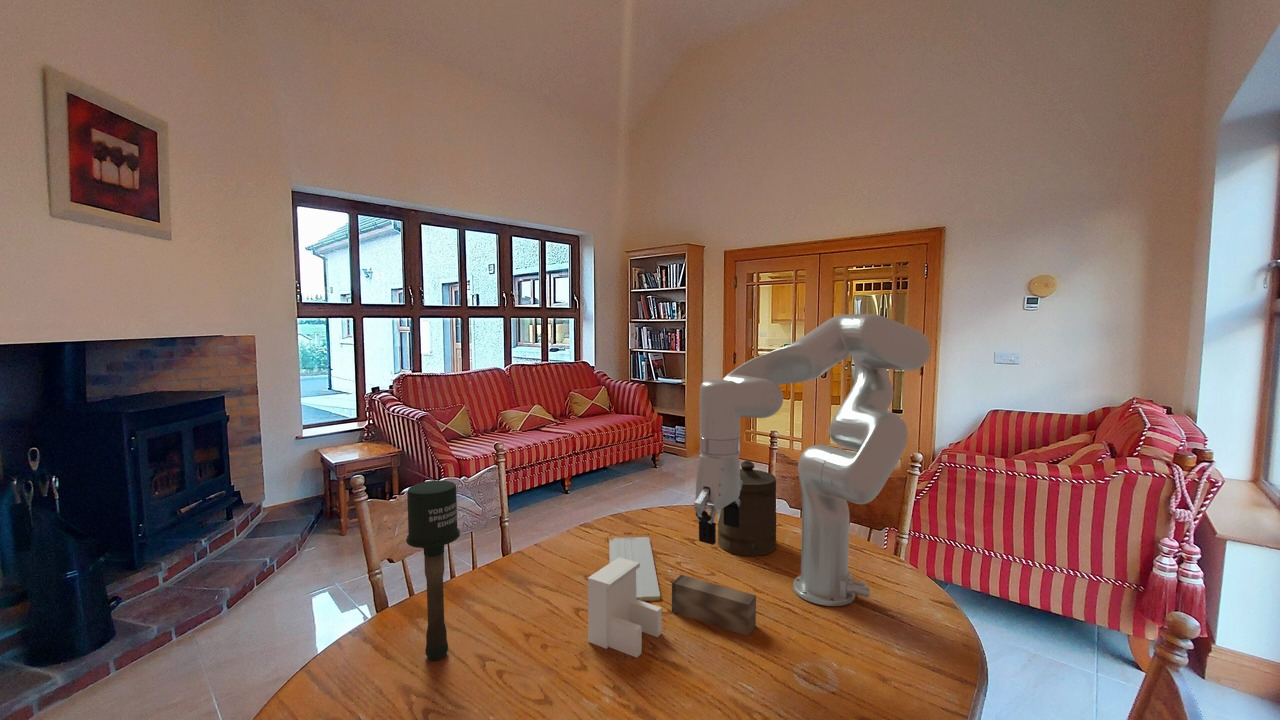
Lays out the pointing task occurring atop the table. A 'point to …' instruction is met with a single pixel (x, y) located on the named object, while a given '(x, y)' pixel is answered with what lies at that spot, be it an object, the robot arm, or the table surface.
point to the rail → (714, 604)
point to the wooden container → (752, 515)
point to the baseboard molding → (640, 553)
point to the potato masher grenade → (433, 549)
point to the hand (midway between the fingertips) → (719, 533)
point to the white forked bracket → (619, 609)
